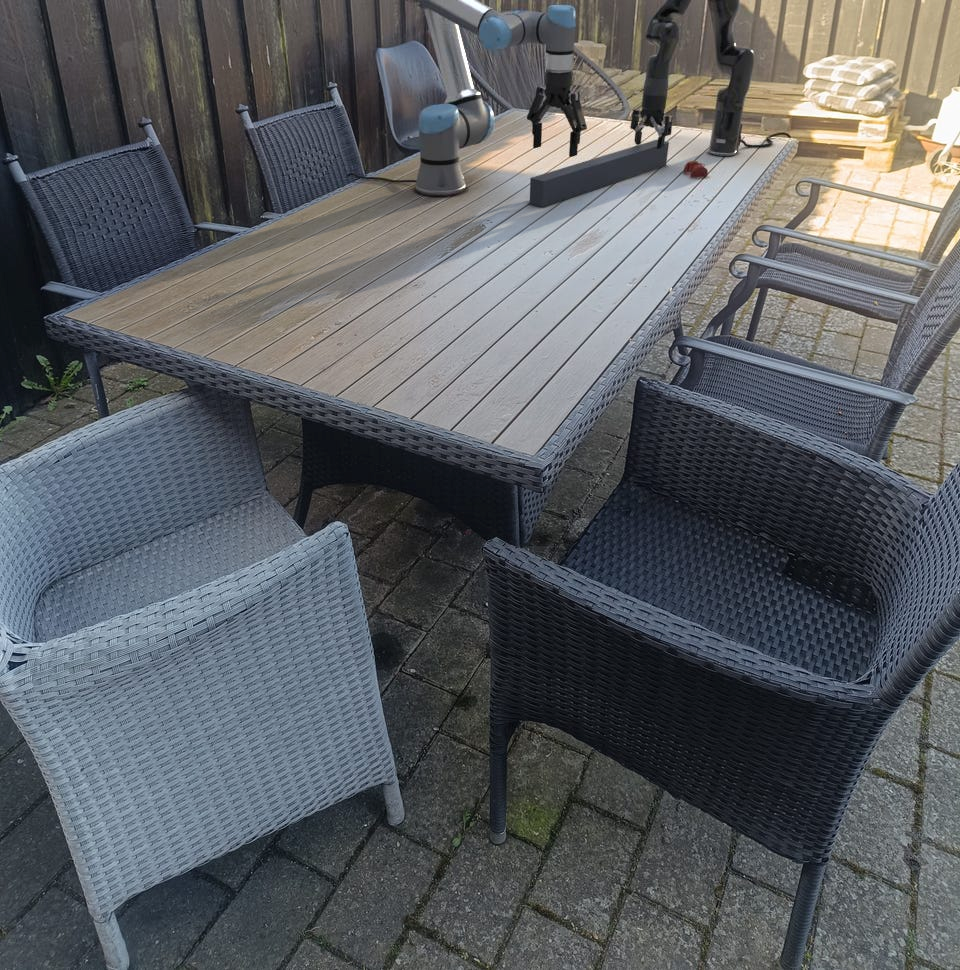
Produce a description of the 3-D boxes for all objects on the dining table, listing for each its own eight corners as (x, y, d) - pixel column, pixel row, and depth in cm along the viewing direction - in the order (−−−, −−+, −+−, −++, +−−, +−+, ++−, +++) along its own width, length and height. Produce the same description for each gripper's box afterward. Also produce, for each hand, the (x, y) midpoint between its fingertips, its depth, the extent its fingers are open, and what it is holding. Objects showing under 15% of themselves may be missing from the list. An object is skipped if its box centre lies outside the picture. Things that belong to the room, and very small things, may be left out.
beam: (542, 207, 244) (543, 181, 240) (529, 203, 247) (530, 177, 243) (666, 165, 281) (669, 142, 276) (653, 162, 283) (656, 139, 279)
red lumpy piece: (699, 157, 272) (710, 164, 266) (697, 170, 275) (708, 177, 269) (683, 159, 271) (694, 165, 265) (681, 172, 274) (692, 179, 268)
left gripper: (603, 74, 225) (597, 157, 237) (533, 63, 239) (531, 141, 251) (585, 78, 220) (580, 162, 233) (515, 66, 235) (514, 146, 247)
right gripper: (681, 94, 262) (673, 148, 272) (643, 87, 271) (637, 140, 280) (667, 97, 258) (660, 152, 267) (629, 90, 266) (623, 144, 275)
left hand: (554, 151), depth 242 cm, fingers open, 13 cm apart
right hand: (648, 146), depth 274 cm, fingers open, 8 cm apart
